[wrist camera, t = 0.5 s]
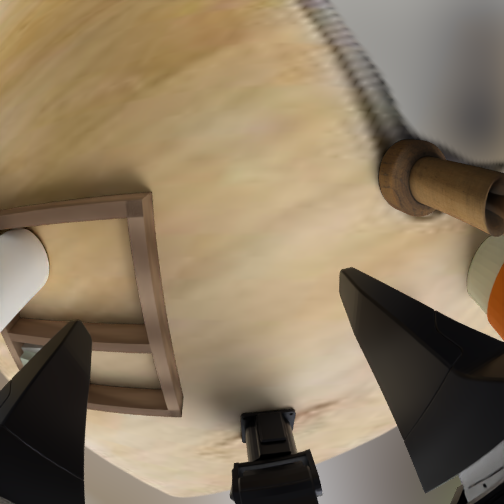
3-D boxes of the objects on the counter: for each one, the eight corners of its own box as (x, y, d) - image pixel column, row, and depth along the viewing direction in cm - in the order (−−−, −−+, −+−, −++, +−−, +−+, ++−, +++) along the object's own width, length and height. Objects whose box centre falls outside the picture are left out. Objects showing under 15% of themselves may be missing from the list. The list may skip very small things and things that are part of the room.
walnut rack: (183, 396, 29) (181, 417, 26) (44, 382, 27) (35, 398, 25) (151, 191, 21) (141, 199, 18) (-15, 213, 20) (-33, 221, 17)
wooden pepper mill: (401, 225, 24) (558, 331, 8) (364, 170, 22) (562, 246, 6) (444, 180, 23) (603, 244, 6) (412, 124, 21) (599, 148, 4)
